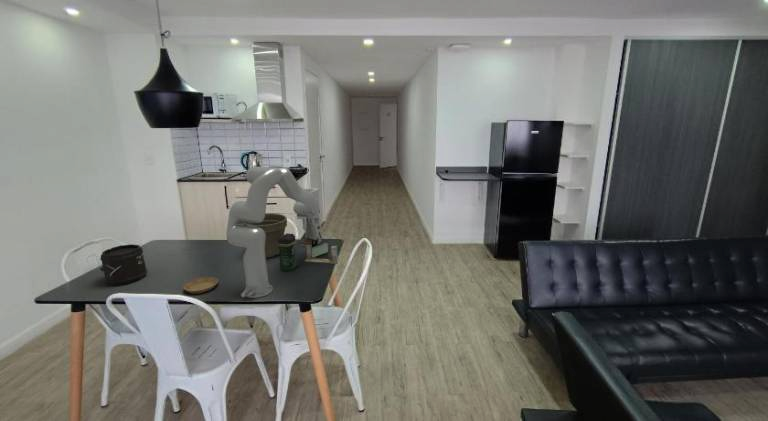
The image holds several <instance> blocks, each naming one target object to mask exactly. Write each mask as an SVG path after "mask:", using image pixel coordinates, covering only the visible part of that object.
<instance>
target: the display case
mask: <svg viewBox="0 0 768 421" xmlns="http://www.w3.org/2000/svg"><path fill="white" fill-rule="evenodd" d="M302 188H303V187H302ZM303 189H305V190H306V191H307V192H309V193H310V194H312V195H313V196H314V197H315V199H317V200H318V203H319V208H320V209H319V220H320V223H322V222H321V220H322V219H321V206H320V205H321V204H320V191H319V190H320V189H319V188H309V187H308V188H303ZM296 202H298V201H295V203H296ZM296 218H297V219H296V220H302V221H301V222H302V229H303V231H304V232H305V233H306V215H300V214H296ZM320 239H322V240H321V241H320V242H318V245H320V244H321V242H322V241H323V238H320ZM308 244H309V245H311V248H312V243H311V241H310V239H308V237H307V236H306V237H304V238H303V239H302V240H301V241H299V244H298V246H300V247H306V245H308Z"/></svg>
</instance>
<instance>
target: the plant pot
mask: <svg viewBox="0 0 768 421" xmlns="http://www.w3.org/2000/svg"><path fill="white" fill-rule="evenodd" d="M245 225H246V226H255V227H259V228H261V229H263V230H264V231H265V234H266V242H265V255H266V258H272V257H275V256H277V255H280V253H279V245H278V238H280V237H281V236H283V235H285V230H286V227H288V226H287V225H288V217H287V216H286V215H284V214H280V213H265V218H264V220H263V221H262V222H261V223H247V222H245Z"/></svg>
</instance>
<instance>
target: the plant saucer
mask: <svg viewBox="0 0 768 421" xmlns="http://www.w3.org/2000/svg"><path fill="white" fill-rule="evenodd" d="M218 283H219V279H218V278H216V277H215V276H204V277H198V278H194V279H192V280H190V281H188V282H186V283H184V285H183V290H184V291H186V292H188V293H189V294H202V293H207V292H209V291H211V290H213V289H214V288H215V287H216V285H217V284H218Z"/></svg>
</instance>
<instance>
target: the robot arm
mask: <svg viewBox="0 0 768 421" xmlns="http://www.w3.org/2000/svg"><path fill="white" fill-rule="evenodd" d="M245 176H246V177H245V178H246V180H247V182H248V183H249V184H250V186H249V187H248V191H247V196H246V200H244V201H243V200H238V201H237V200H236V201H235V202H234V203H233V204H232V205H231V206H230V208H229V212H228V220H227V228H226V240H227V242H228V243H229V244H230V245H233V246H238V247H242V248H245V252H244V254H243V257H242V259H243V260H242V261H243V267H244V277H245V285H246V286H245V289H244V290H243V291H242V293H241V294H240V296H241V297H242V298H245V297H246V298H250V299H257V298H262V297H266V296H268V295H269V294H271V293H272V292H273V290H274V289H273V286H272V284H269V277H268V267H267V257H266V255H265V242H266V234H265V231H264V230H263V229H261V228H259V227H255V226H246V225H245V222H247V223H261V222H262V221H263V220H264V218H265V214H266V211H267V204H268V196H269V193H270V192H271V190H272V188H274V187H275V186H276V185H278V186H279V187H280V189H281V190H282V192H283V193H284V195H285V196H286V197H287V198H289V199H290V200H293V201H295V203H294V204H293V208H292V209H293V212H294V213H295V214H296V215H297V214H300V215H306V232H305V233H306V235H305V236H306V237H308V239H310V241H311V243H312V247H315V246H318V245H319V244H318V242H320V241H321V239H320V238H322V239H323V236H324V235H323V228H322V224H321V223H322V222H321V223H320V220H319V209H320V210H321V207H320V208H319V203H318V200H317V199H315V197H314V196H313V195H312V194H310V193H309V192H307V191H306V190H305V189H303V187H301V186H300V185H299V183H298V181H297V179H296V178H295V176H294V175H293V173H292V171H291V170H290V169H288V168H286V167H281V166H279V167H276V166H273V167H272V166H251V167H249V168H248V169H247V171H246V174H245ZM296 201H298V202H296ZM321 242H322V241H321ZM321 242H320V243H321ZM312 247H311V248H312Z"/></svg>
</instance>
